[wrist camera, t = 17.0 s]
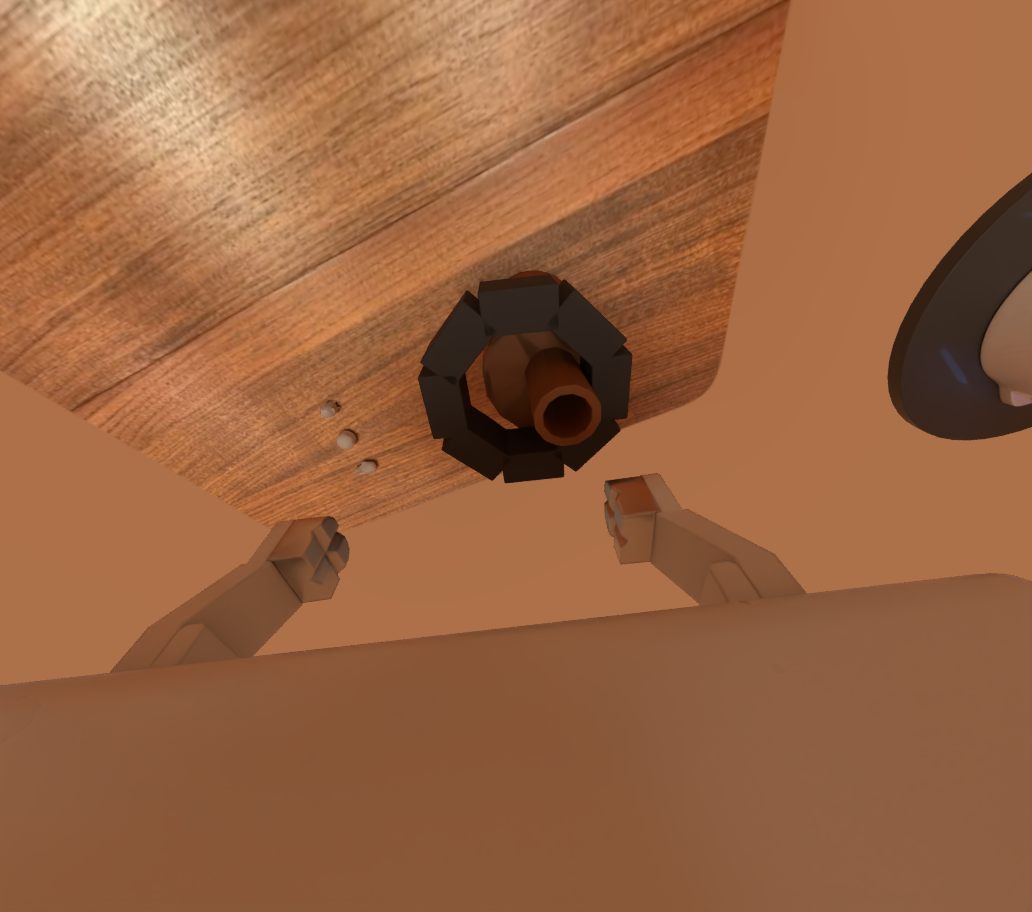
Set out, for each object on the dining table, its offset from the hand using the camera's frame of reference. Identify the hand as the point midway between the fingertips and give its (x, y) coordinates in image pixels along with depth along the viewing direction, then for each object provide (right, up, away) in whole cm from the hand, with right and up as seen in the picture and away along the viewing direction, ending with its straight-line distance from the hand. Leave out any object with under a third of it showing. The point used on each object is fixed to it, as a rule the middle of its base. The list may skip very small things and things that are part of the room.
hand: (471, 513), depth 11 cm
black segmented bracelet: (+2, +6, +8) cm, 10 cm away
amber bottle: (+3, +13, +18) cm, 22 cm away
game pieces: (-14, +4, +23) cm, 28 cm away
